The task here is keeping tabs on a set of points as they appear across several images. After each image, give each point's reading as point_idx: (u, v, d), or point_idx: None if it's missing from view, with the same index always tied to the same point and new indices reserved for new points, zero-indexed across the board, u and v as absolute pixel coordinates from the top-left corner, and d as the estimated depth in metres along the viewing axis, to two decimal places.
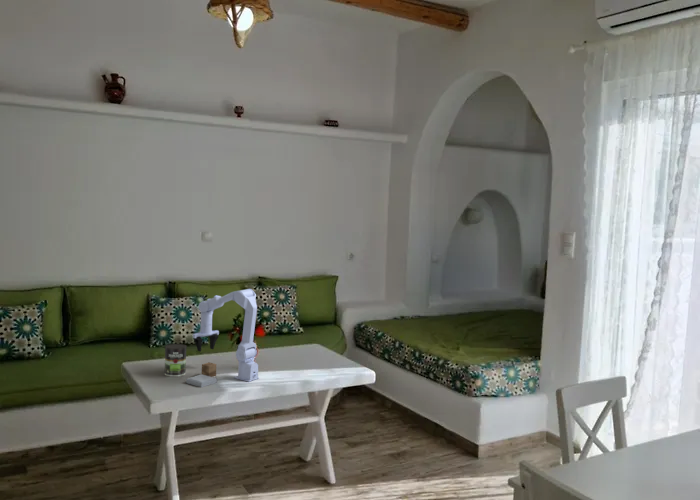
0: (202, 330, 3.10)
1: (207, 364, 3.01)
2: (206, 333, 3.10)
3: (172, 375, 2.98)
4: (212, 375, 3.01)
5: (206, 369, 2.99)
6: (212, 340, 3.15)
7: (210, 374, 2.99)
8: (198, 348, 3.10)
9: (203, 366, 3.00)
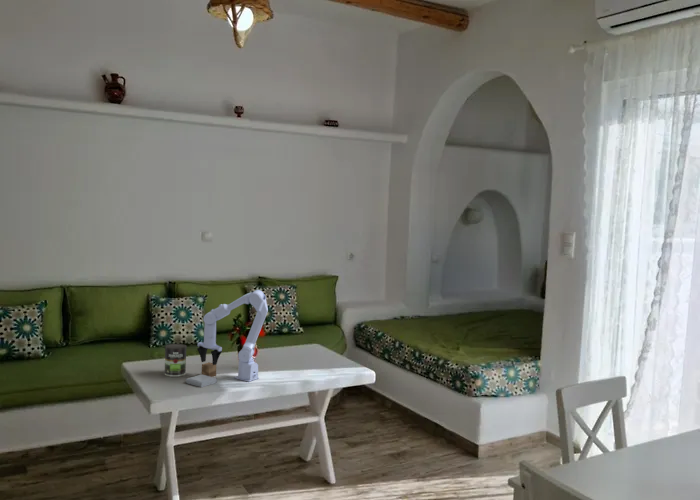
0: None
1: (207, 364, 3.01)
2: (203, 345, 2.99)
3: (172, 375, 2.98)
4: (212, 375, 3.01)
5: (206, 369, 2.99)
6: None
7: (210, 374, 2.99)
8: None
9: (203, 366, 3.00)
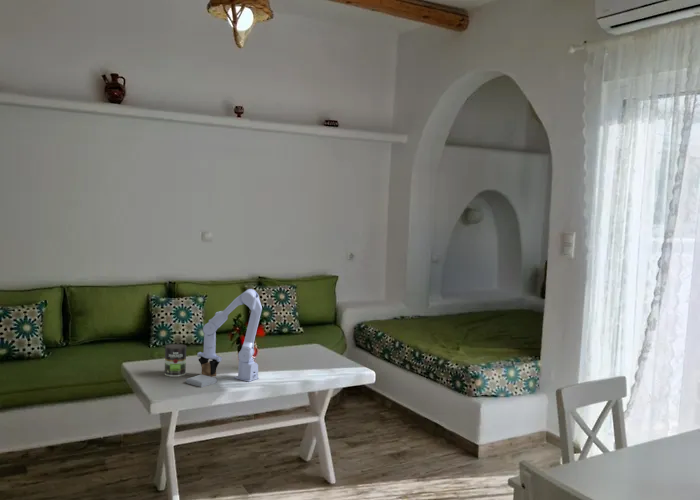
0: None
1: (207, 364, 3.01)
2: (203, 355, 3.00)
3: (172, 375, 2.98)
4: (212, 375, 3.01)
5: (206, 369, 2.99)
6: None
7: (210, 374, 2.99)
8: None
9: (203, 366, 3.00)
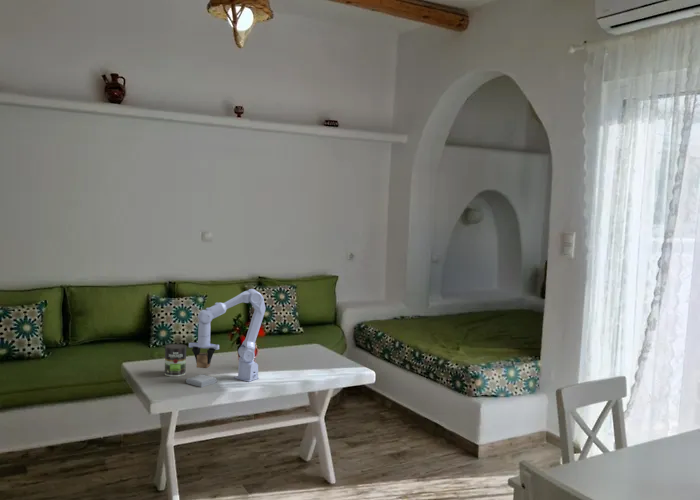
0: (198, 341, 2.91)
1: (202, 354, 2.91)
2: (199, 344, 2.90)
3: (172, 375, 2.98)
4: (208, 365, 2.93)
5: (203, 360, 2.90)
6: None
7: (207, 364, 2.91)
8: None
9: (199, 357, 2.90)
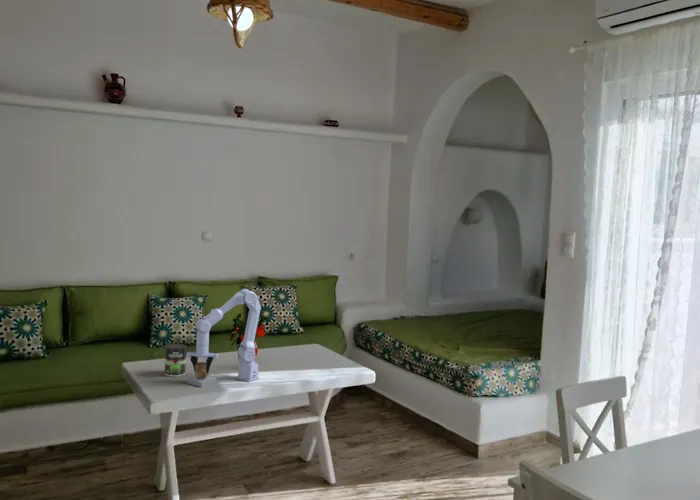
0: (196, 350, 2.89)
1: (200, 364, 2.89)
2: (197, 354, 2.87)
3: (172, 375, 2.98)
4: (206, 374, 2.91)
5: (201, 369, 2.88)
6: None
7: (206, 374, 2.89)
8: None
9: (197, 366, 2.88)
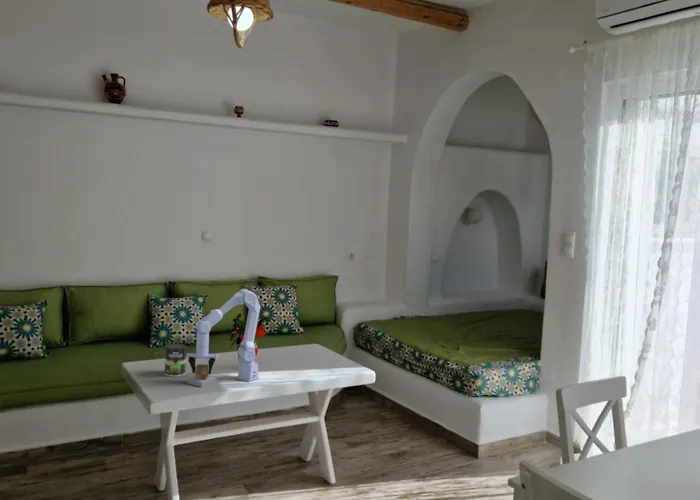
0: (196, 351, 2.89)
1: (200, 366, 2.89)
2: (197, 355, 2.87)
3: (172, 375, 2.98)
4: (206, 376, 2.91)
5: (201, 371, 2.88)
6: None
7: (206, 376, 2.89)
8: None
9: (197, 368, 2.88)
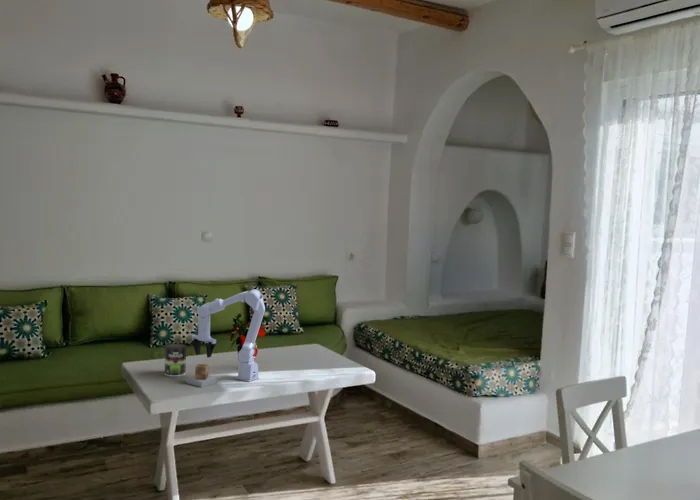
0: None
1: (200, 366, 2.89)
2: (198, 337, 3.00)
3: (172, 375, 2.98)
4: (206, 376, 2.91)
5: (201, 371, 2.88)
6: None
7: (206, 376, 2.89)
8: None
9: (197, 368, 2.88)
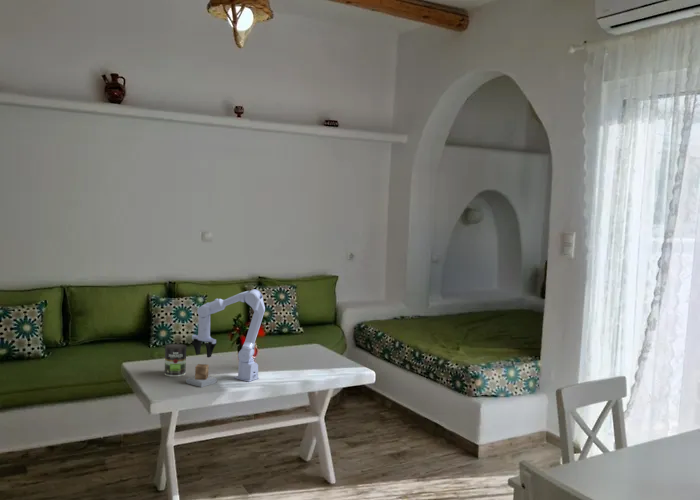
0: None
1: (200, 366, 2.89)
2: (198, 337, 3.00)
3: (172, 375, 2.98)
4: (206, 376, 2.91)
5: (201, 371, 2.88)
6: None
7: (206, 376, 2.89)
8: None
9: (197, 368, 2.88)
